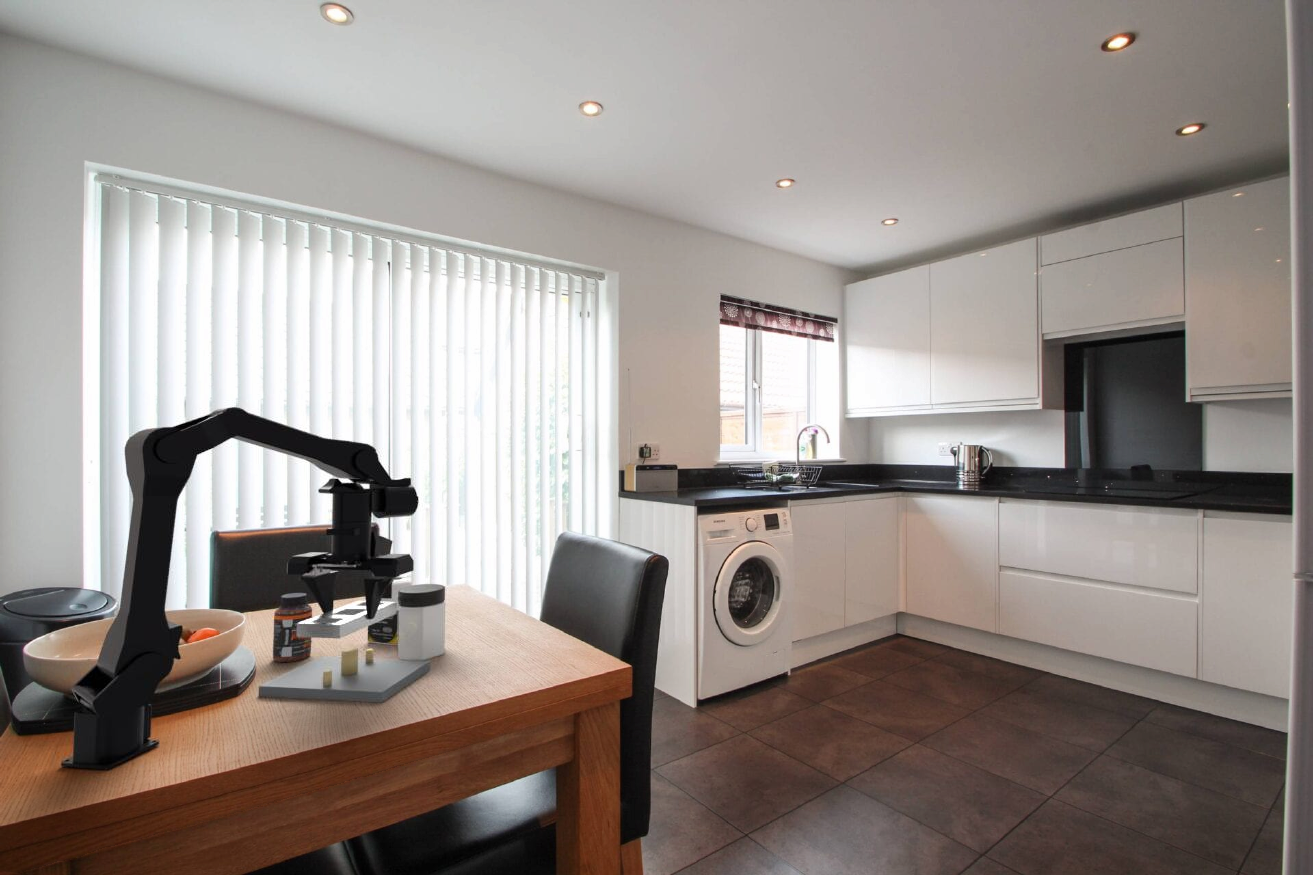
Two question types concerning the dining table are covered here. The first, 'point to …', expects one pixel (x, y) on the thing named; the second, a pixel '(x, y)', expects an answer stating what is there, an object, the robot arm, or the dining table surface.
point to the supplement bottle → (291, 628)
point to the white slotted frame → (343, 620)
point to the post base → (346, 678)
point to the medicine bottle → (388, 627)
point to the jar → (421, 621)
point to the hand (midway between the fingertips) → (350, 618)
